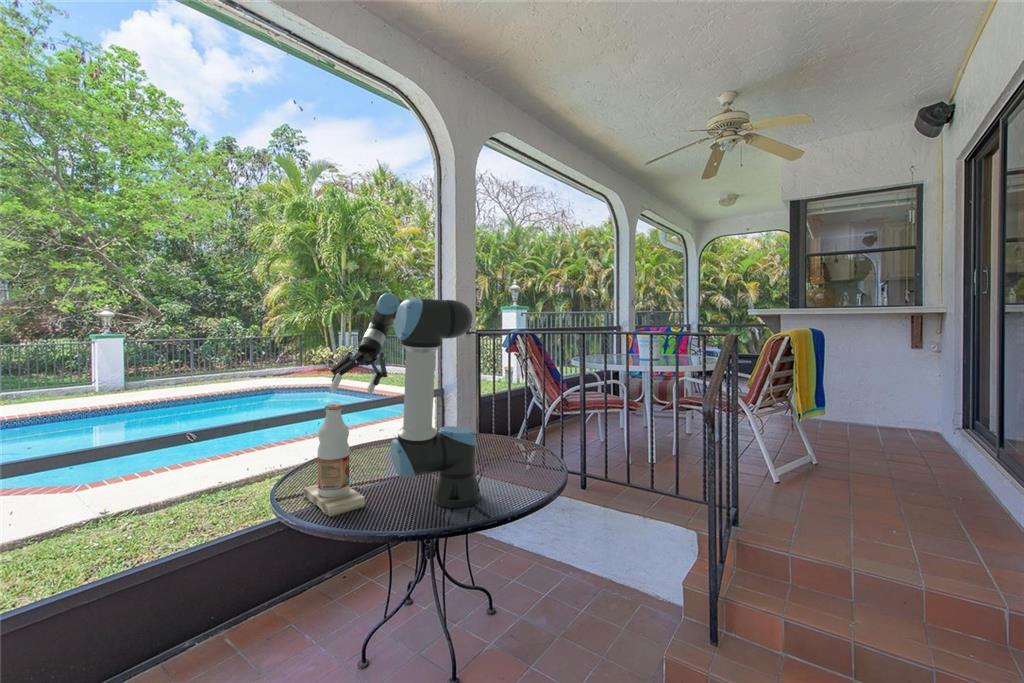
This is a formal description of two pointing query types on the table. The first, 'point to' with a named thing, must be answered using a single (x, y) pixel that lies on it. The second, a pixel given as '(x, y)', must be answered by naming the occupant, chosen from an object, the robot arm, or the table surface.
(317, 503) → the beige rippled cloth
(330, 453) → the fruit juice
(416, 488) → the table surface
